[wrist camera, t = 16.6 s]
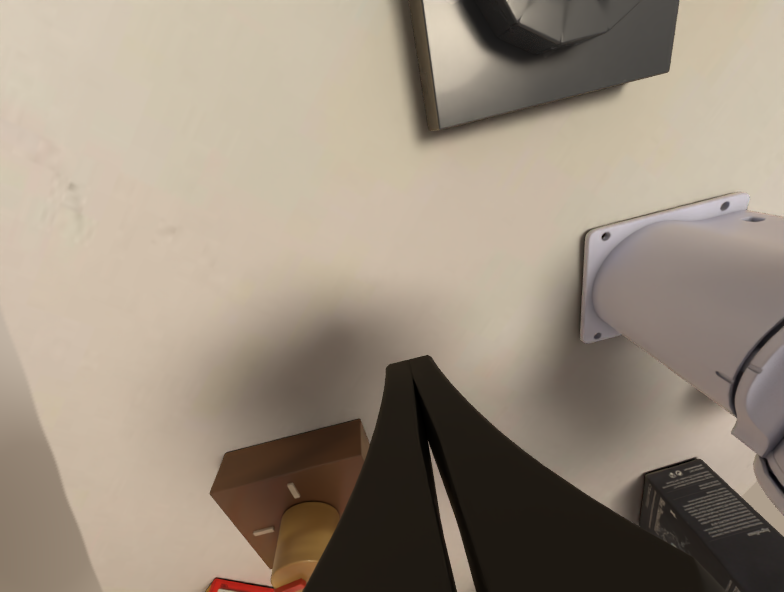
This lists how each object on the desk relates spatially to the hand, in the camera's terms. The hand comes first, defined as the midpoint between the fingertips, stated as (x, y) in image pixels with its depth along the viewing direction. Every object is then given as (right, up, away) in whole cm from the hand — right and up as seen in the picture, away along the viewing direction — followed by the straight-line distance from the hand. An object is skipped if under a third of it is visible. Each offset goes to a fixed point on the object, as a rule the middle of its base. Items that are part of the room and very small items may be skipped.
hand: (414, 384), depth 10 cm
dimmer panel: (-7, -12, +15) cm, 20 cm away
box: (+27, -17, +22) cm, 39 cm away
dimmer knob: (-6, -13, +13) cm, 19 cm away
